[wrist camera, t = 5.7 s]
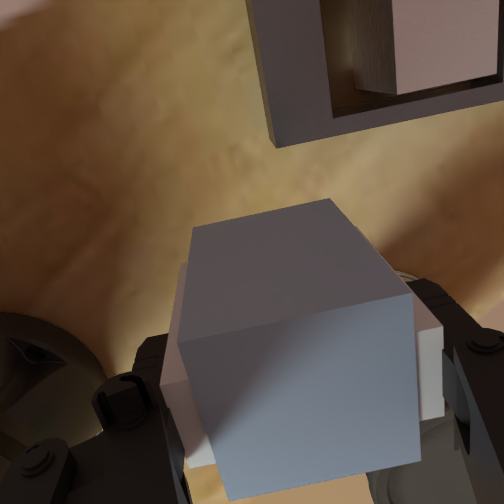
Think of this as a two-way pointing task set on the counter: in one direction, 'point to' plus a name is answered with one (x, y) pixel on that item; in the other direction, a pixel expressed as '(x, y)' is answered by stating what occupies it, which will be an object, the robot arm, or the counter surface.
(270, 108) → the dark grey compartment tray
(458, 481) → the coffee can
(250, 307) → the blue-grey rectangular block
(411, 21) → the pale wooden cube
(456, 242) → the counter surface
